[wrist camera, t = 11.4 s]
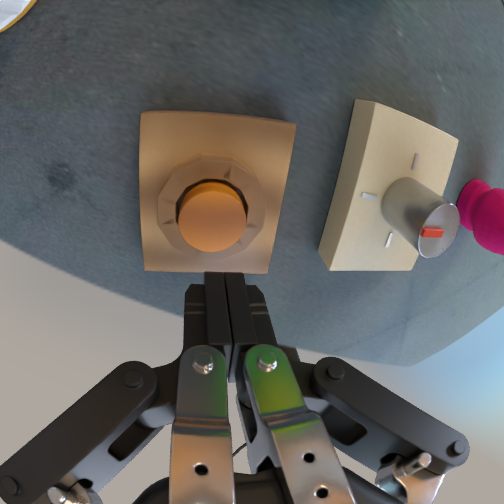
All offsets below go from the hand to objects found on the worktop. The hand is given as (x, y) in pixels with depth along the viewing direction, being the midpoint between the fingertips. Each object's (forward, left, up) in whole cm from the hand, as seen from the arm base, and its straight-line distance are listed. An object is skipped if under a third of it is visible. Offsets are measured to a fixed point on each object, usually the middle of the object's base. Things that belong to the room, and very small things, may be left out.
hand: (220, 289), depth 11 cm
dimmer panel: (+2, -15, -11) cm, 19 cm away
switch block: (0, 0, -11) cm, 11 cm away
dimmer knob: (+2, -15, -8) cm, 17 cm away
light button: (0, 0, -8) cm, 8 cm away
